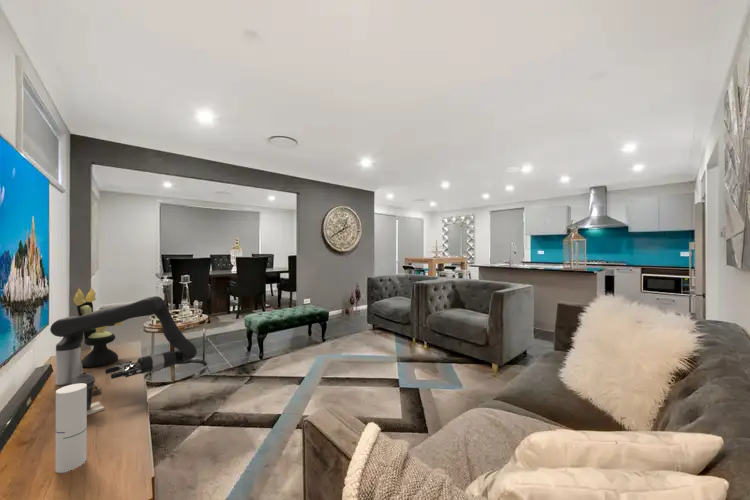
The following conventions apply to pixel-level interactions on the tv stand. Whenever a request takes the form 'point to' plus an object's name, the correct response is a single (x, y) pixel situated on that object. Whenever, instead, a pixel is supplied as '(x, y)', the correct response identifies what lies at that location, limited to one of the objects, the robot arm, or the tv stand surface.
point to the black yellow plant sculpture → (95, 334)
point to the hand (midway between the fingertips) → (108, 373)
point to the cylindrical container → (71, 427)
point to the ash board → (95, 408)
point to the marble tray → (96, 389)
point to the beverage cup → (88, 380)
